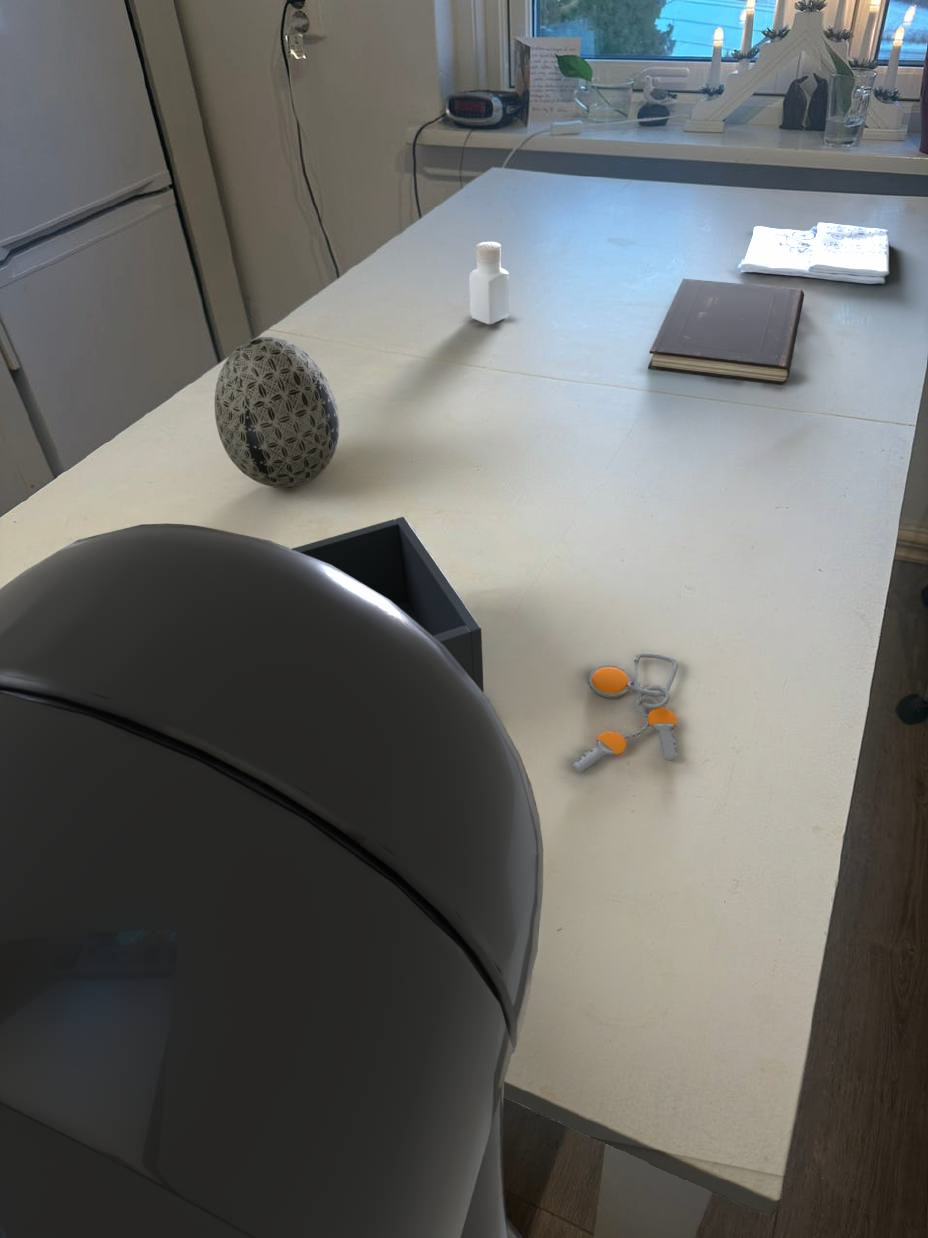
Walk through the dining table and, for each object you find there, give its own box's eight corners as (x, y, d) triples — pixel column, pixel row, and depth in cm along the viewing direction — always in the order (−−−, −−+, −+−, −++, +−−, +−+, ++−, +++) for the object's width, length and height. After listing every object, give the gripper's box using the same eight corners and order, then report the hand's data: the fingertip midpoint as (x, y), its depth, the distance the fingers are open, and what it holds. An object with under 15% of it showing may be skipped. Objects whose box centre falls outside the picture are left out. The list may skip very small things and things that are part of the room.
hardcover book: (647, 368, 105) (649, 350, 103) (680, 294, 120) (682, 278, 119) (786, 385, 100) (790, 367, 99) (801, 306, 116) (805, 289, 114)
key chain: (596, 648, 69) (597, 640, 69) (690, 663, 68) (692, 656, 67) (565, 772, 60) (566, 765, 60) (672, 794, 59) (674, 786, 58)
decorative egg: (327, 516, 85) (301, 373, 75) (215, 507, 87) (175, 366, 77) (361, 453, 93) (342, 316, 83) (258, 446, 95) (227, 311, 85)
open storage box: (295, 786, 61) (270, 698, 55) (246, 654, 71) (221, 568, 65) (485, 717, 65) (481, 628, 59) (413, 601, 75) (404, 515, 69)
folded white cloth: (885, 287, 119) (890, 271, 118) (734, 274, 125) (737, 258, 124) (888, 240, 132) (892, 225, 131) (751, 229, 138) (754, 215, 137)
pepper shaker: (468, 318, 118) (466, 246, 111) (490, 309, 120) (488, 237, 113) (489, 326, 115) (488, 253, 109) (510, 317, 117) (510, 244, 111)
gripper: (446, 890, 42) (339, 667, 54) (147, 1017, 38) (101, 747, 50) (454, 964, 47) (354, 745, 59) (190, 1082, 43) (139, 823, 55)
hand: (238, 747), depth 55 cm, fingers closed on energy drink, 5 cm apart
